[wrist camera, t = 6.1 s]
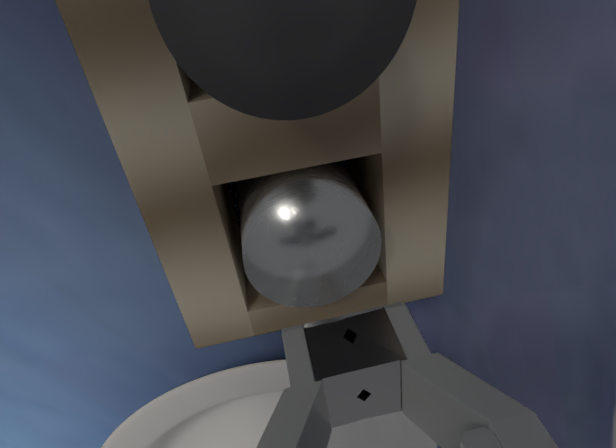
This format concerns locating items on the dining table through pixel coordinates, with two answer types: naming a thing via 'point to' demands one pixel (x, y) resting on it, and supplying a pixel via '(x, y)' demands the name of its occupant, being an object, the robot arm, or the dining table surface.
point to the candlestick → (244, 415)
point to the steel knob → (307, 235)
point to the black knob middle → (283, 50)
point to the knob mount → (272, 163)
